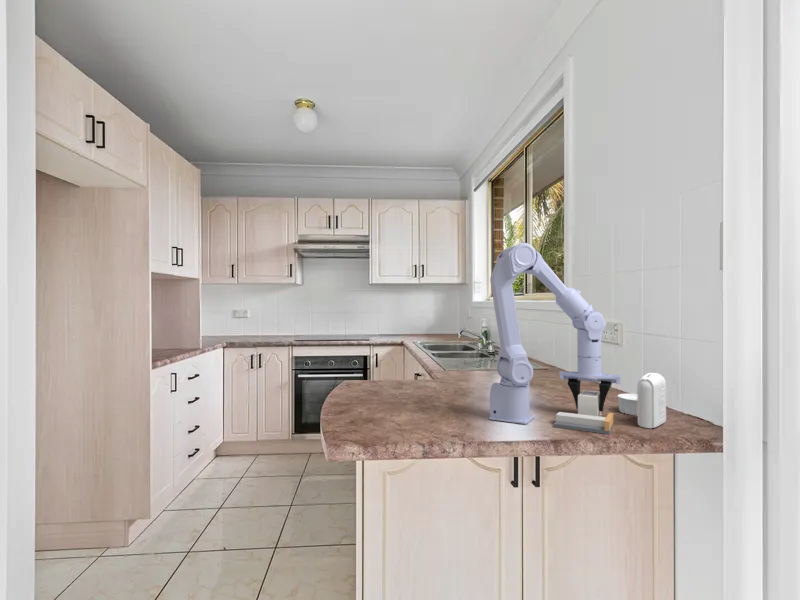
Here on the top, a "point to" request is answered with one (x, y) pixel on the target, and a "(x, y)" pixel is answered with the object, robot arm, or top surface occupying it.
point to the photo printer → (651, 400)
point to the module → (589, 403)
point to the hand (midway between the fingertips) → (589, 409)
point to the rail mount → (584, 422)
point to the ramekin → (628, 403)
